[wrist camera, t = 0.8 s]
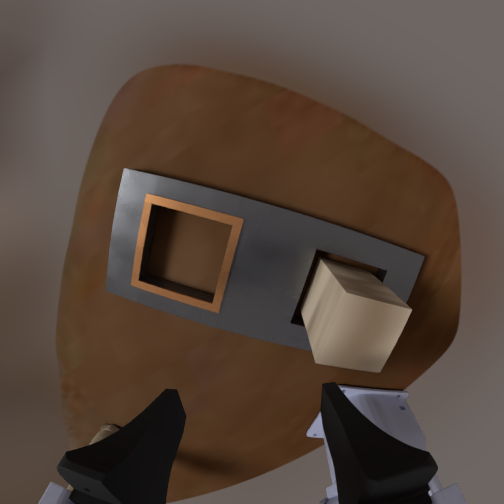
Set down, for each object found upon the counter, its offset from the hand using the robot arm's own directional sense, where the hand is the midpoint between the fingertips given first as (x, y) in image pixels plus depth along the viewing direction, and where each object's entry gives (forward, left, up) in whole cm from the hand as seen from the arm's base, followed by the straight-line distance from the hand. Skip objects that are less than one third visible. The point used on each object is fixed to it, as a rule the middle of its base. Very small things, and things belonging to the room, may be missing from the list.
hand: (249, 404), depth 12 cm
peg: (-6, -4, -10) cm, 12 cm away
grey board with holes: (0, -4, -10) cm, 11 cm away
